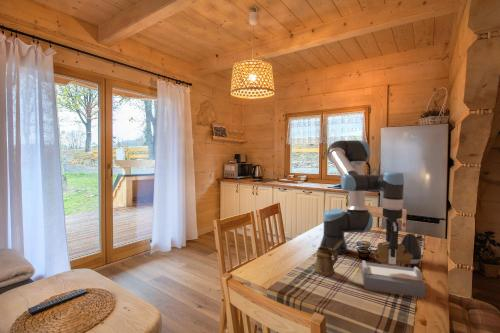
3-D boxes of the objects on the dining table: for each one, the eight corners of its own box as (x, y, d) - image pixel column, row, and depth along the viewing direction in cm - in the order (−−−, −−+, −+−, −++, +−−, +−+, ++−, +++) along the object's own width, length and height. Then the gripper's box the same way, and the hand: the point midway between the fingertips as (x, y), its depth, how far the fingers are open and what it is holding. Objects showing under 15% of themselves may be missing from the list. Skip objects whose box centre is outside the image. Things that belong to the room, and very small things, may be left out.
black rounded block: (425, 267, 130) (426, 237, 129) (402, 265, 132) (403, 236, 132) (416, 259, 140) (417, 231, 139) (395, 257, 142) (396, 230, 142)
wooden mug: (337, 281, 116) (337, 241, 115) (310, 271, 126) (311, 234, 125) (346, 274, 123) (347, 237, 122) (320, 265, 132) (320, 230, 131)
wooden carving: (408, 262, 115) (409, 240, 115) (413, 267, 111) (414, 243, 110) (369, 260, 117) (369, 238, 116) (373, 265, 112) (373, 242, 112)
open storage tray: (364, 288, 110) (365, 271, 110) (361, 272, 125) (361, 257, 125) (425, 298, 103) (425, 279, 103) (413, 279, 118) (414, 263, 118)
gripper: (407, 213, 103) (405, 271, 104) (397, 204, 119) (396, 254, 121) (386, 211, 105) (384, 268, 107) (379, 203, 122) (378, 252, 123)
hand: (390, 261), depth 114 cm, fingers closed on wooden carving, 4 cm apart
